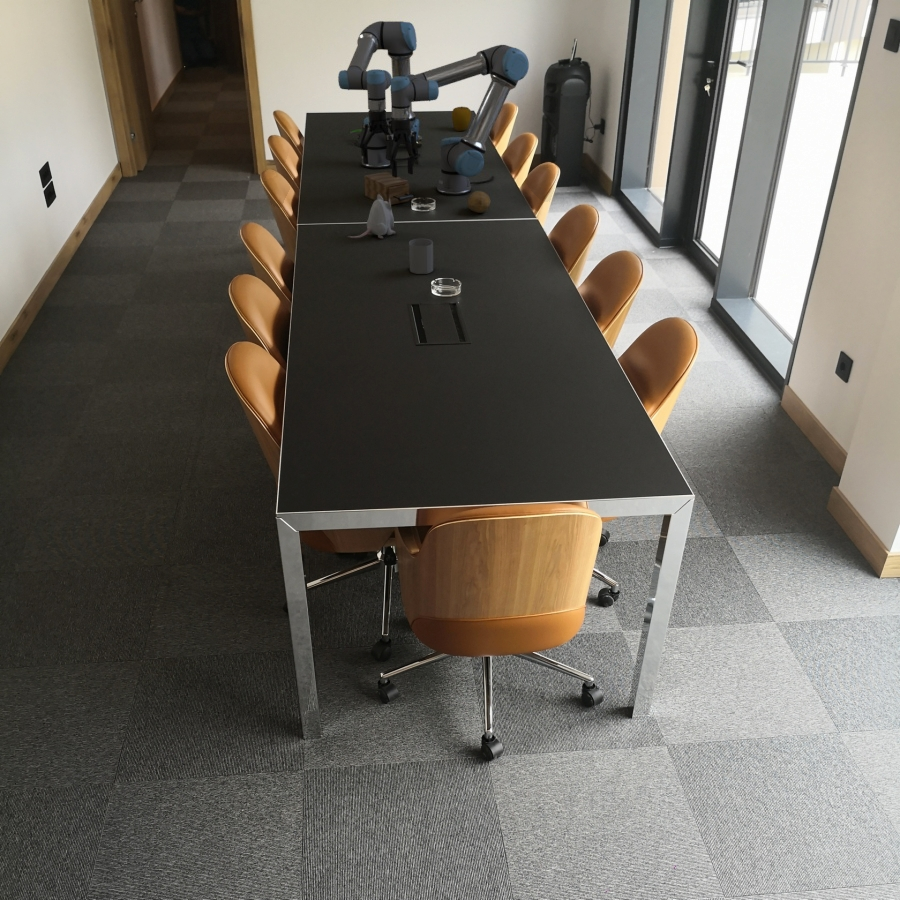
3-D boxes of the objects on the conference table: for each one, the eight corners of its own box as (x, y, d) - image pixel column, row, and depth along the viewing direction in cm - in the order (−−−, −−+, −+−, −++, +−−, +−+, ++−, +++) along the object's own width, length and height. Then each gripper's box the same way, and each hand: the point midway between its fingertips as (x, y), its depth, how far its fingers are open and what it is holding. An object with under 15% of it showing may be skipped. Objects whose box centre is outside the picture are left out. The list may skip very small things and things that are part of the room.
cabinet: (408, 201, 378) (407, 180, 373) (386, 205, 372) (385, 185, 367) (386, 191, 390) (385, 171, 385) (365, 195, 384) (364, 175, 379)
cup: (409, 265, 311) (408, 238, 306) (432, 265, 312) (431, 238, 307) (410, 274, 304) (409, 246, 299) (433, 273, 305) (433, 246, 299)
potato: (488, 206, 371) (488, 187, 367) (492, 216, 359) (492, 197, 355) (465, 206, 370) (465, 188, 366) (468, 217, 358) (468, 197, 354)
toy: (401, 233, 341) (400, 195, 333) (356, 248, 326) (354, 209, 318) (385, 228, 346) (384, 190, 338) (340, 243, 331) (337, 204, 323)
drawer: (416, 203, 372) (416, 187, 368) (397, 207, 367) (396, 191, 363) (389, 191, 387) (388, 175, 383) (370, 195, 382) (369, 179, 378)
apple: (471, 132, 486) (471, 108, 479) (451, 132, 486) (451, 108, 479) (470, 128, 495) (471, 104, 488) (452, 128, 495) (452, 104, 488)
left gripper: (356, 115, 356) (358, 167, 367) (406, 108, 368) (408, 159, 380) (346, 111, 361) (349, 163, 372) (397, 105, 373) (398, 155, 385)
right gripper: (384, 123, 345) (387, 181, 357) (426, 116, 355) (427, 173, 367) (375, 119, 350) (377, 177, 362) (416, 113, 360) (417, 169, 372)
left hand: (379, 161), depth 376 cm, fingers open, 13 cm apart
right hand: (402, 175), depth 365 cm, fingers open, 7 cm apart
